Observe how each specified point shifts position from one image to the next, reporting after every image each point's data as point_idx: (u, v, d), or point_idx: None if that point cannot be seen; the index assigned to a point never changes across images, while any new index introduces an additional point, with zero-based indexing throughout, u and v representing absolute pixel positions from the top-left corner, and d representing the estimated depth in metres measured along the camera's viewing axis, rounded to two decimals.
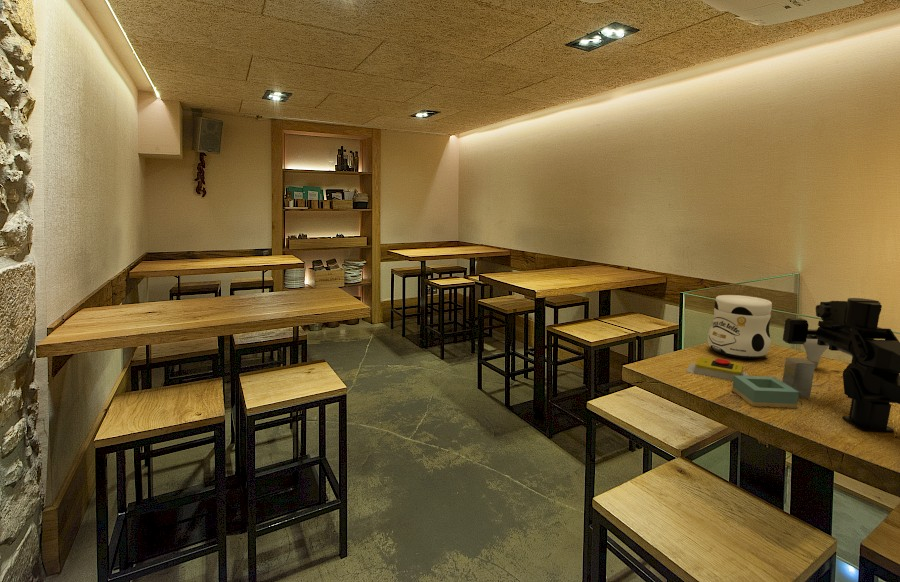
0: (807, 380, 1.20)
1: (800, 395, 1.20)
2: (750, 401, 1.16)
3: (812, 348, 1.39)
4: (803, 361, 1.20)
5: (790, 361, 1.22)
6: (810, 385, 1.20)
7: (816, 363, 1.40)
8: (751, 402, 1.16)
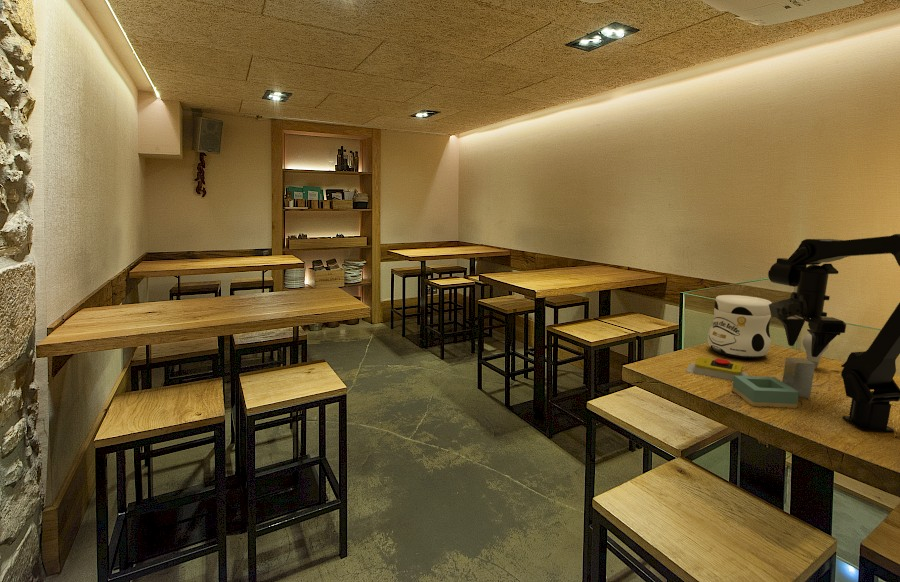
0: (807, 380, 1.20)
1: (800, 395, 1.20)
2: (750, 401, 1.16)
3: None
4: (803, 361, 1.20)
5: (790, 361, 1.22)
6: (810, 385, 1.20)
7: (816, 363, 1.40)
8: (751, 402, 1.16)
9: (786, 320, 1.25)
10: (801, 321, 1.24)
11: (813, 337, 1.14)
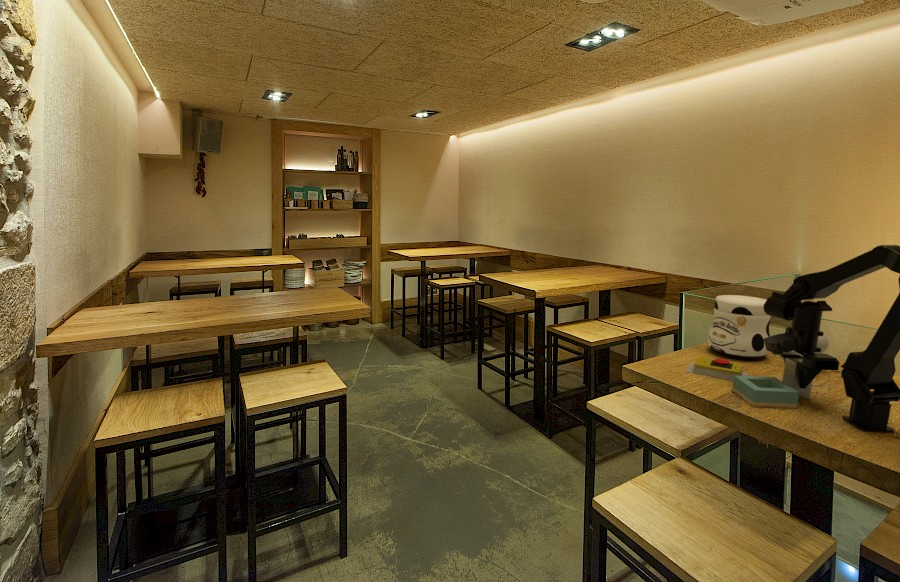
0: None
1: (800, 395, 1.20)
2: (750, 401, 1.16)
3: None
4: None
5: (790, 361, 1.22)
6: (810, 385, 1.20)
7: None
8: (751, 402, 1.16)
9: (786, 356, 1.24)
10: (801, 357, 1.24)
11: (801, 370, 1.18)
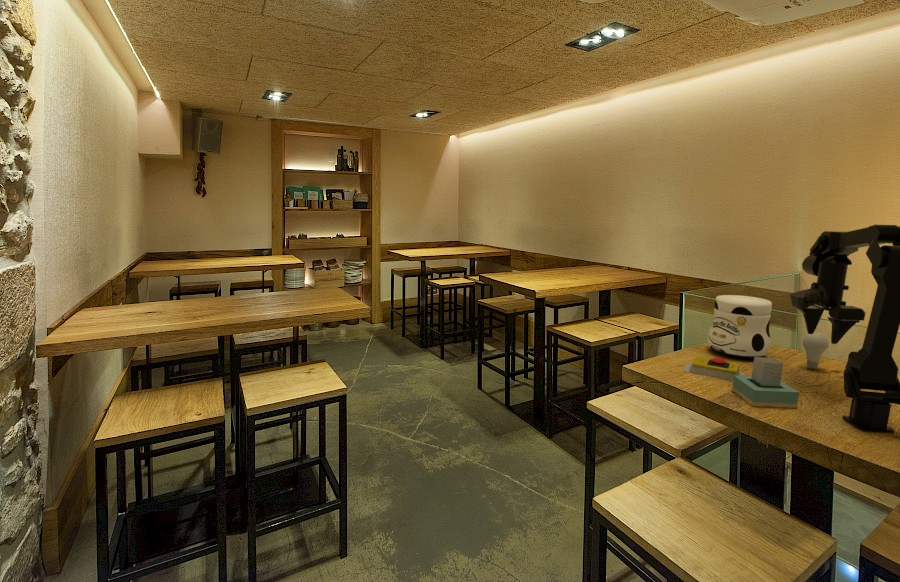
0: (775, 380, 1.16)
1: None
2: (750, 401, 1.16)
3: (812, 348, 1.39)
4: (771, 361, 1.17)
5: (758, 361, 1.18)
6: (778, 385, 1.17)
7: (816, 363, 1.40)
8: (751, 402, 1.16)
9: (806, 309, 1.30)
10: (820, 310, 1.30)
11: (833, 325, 1.20)
